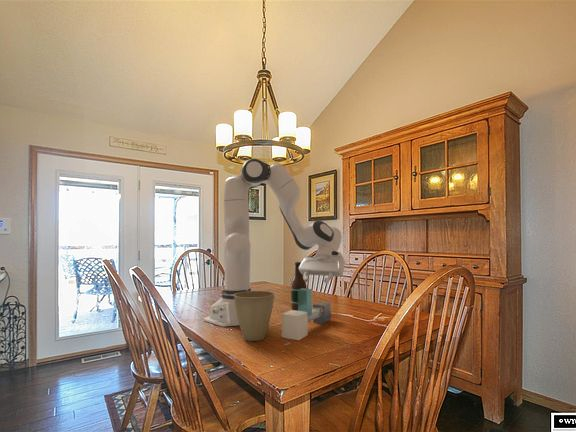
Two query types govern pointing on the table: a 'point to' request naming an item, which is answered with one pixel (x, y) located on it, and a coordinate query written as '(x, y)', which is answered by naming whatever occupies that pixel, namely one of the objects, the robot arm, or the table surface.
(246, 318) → the plant pot
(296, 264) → the beer bottle
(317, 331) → the table surface
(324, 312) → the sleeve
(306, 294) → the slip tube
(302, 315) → the socket block
